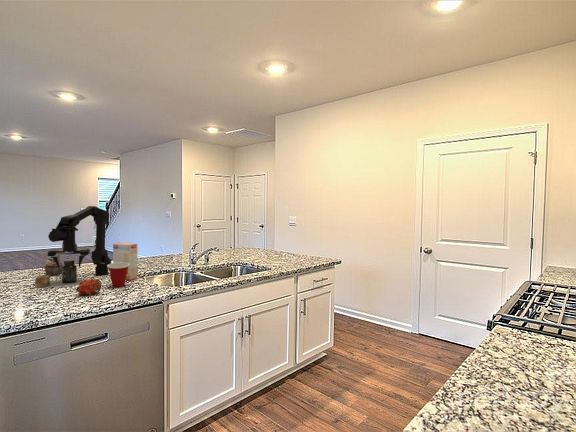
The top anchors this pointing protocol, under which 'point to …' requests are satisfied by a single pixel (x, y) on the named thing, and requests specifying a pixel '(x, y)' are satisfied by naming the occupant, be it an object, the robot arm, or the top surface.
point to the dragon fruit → (88, 287)
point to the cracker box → (126, 257)
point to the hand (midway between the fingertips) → (69, 268)
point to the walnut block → (42, 281)
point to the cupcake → (53, 268)
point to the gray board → (59, 283)
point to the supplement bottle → (69, 272)
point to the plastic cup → (118, 273)
